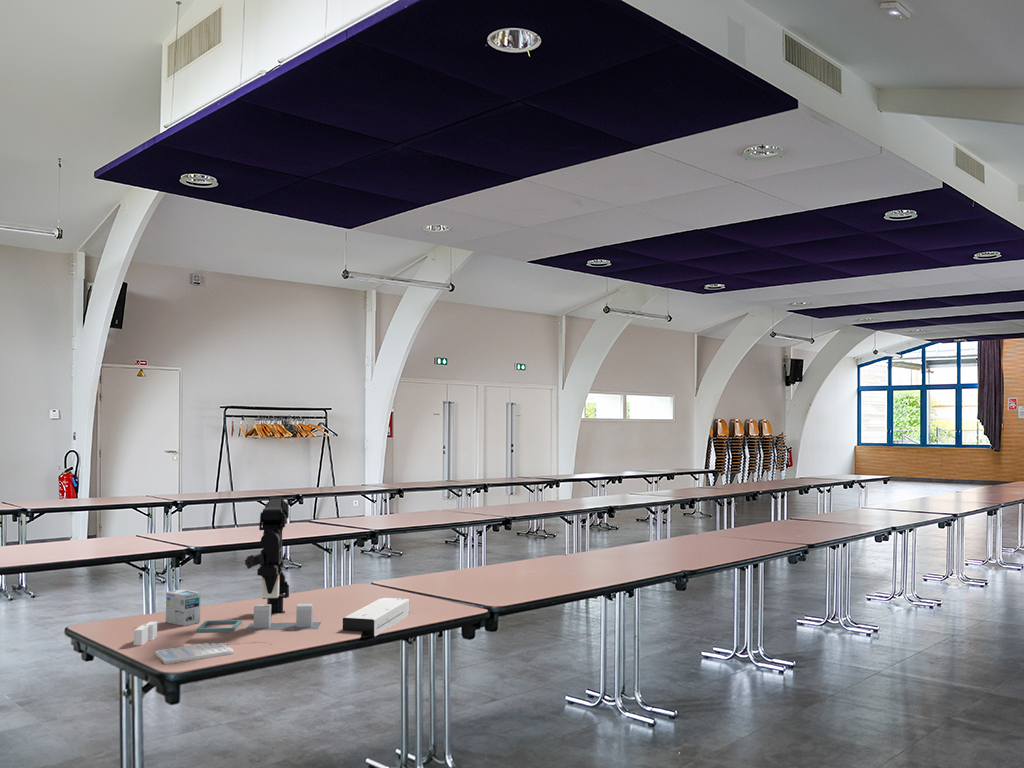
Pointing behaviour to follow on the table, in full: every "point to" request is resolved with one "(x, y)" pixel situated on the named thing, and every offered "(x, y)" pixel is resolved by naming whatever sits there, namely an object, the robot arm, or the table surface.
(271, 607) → the robot arm
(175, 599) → the light bulb box
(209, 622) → the teal tray
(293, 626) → the board
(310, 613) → the block
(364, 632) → the laminator
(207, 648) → the calculator
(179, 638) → the table surface
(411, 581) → the table surface
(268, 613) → the block
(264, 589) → the block
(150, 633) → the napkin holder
